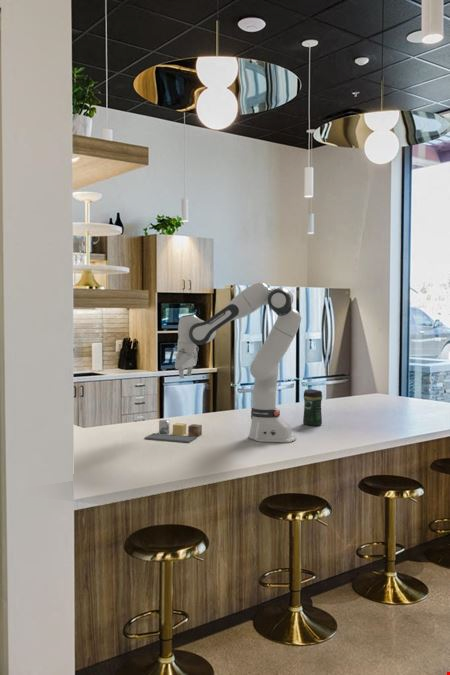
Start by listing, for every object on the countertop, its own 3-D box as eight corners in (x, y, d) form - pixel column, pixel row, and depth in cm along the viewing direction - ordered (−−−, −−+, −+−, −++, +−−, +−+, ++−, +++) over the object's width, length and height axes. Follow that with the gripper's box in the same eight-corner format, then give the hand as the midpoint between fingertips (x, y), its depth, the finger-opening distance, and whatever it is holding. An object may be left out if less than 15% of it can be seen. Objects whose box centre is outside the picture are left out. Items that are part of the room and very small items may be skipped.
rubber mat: (196, 438, 303) (196, 436, 303) (188, 442, 294) (188, 441, 294) (153, 434, 310) (153, 433, 310) (144, 439, 300) (144, 437, 300)
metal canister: (170, 432, 316) (171, 420, 316) (166, 434, 312) (167, 422, 311) (161, 431, 318) (161, 419, 317) (157, 433, 313) (157, 421, 313)
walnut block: (201, 435, 311) (201, 424, 311) (198, 437, 307) (198, 426, 306) (191, 434, 313) (192, 424, 313) (188, 436, 308) (188, 426, 308)
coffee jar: (324, 425, 340) (325, 390, 338) (314, 426, 334) (314, 391, 333) (310, 422, 347) (311, 387, 346) (300, 424, 342) (301, 389, 341)
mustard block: (186, 433, 314) (186, 423, 314) (182, 435, 309) (182, 425, 309) (176, 433, 315) (176, 422, 315) (172, 435, 311) (172, 424, 310)
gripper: (184, 350, 300) (183, 379, 301) (199, 347, 319) (198, 375, 320) (172, 349, 302) (170, 378, 303) (187, 346, 321) (186, 374, 322)
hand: (185, 376), depth 312 cm, fingers open, 8 cm apart
